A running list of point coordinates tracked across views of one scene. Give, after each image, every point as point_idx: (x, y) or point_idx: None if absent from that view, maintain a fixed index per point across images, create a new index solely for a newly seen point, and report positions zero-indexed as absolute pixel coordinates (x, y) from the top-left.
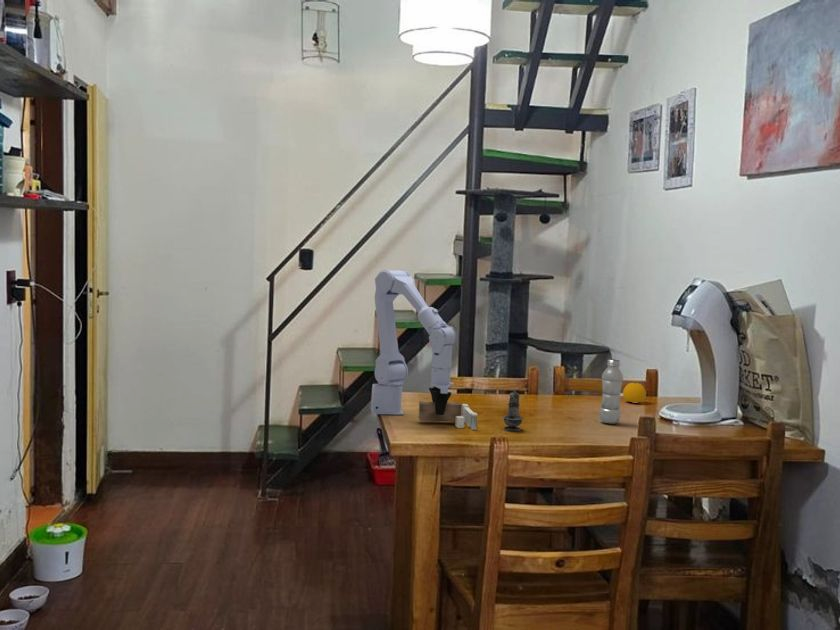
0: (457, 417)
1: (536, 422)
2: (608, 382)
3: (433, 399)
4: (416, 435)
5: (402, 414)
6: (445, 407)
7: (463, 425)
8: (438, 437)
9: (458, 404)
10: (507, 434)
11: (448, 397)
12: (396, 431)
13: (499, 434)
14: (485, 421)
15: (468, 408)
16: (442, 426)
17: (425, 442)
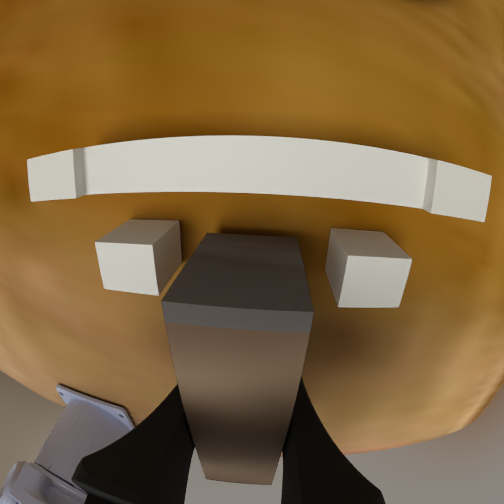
0: (387, 304)
1: None
2: None
3: (189, 462)
4: (429, 411)
5: (125, 410)
6: (315, 411)
7: (390, 239)
8: (476, 360)
9: (283, 337)
10: (487, 44)
11: (362, 479)
12: (368, 447)
13: (495, 82)
14: (164, 31)
15: (131, 154)
16: (324, 336)
17: (491, 386)
